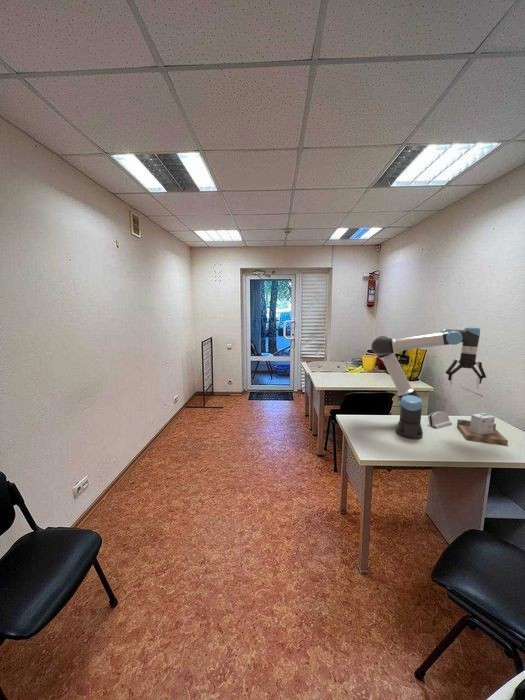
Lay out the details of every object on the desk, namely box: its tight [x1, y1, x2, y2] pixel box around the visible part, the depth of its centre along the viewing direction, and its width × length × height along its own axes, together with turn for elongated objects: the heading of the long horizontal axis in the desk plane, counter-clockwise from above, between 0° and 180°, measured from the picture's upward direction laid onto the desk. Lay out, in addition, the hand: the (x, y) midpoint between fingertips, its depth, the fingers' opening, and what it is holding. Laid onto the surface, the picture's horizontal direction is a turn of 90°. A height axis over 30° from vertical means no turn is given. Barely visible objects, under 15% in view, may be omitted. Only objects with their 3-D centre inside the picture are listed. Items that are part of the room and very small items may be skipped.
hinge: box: [427, 411, 453, 430], centre depth 185 cm, size 17×5×10 cm, turn 113°
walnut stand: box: [456, 418, 509, 446], centre depth 168 cm, size 20×18×6 cm
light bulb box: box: [470, 412, 496, 435], centre depth 166 cm, size 11×7×11 cm, turn 106°
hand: (463, 387), depth 166 cm, fingers open, 13 cm apart
